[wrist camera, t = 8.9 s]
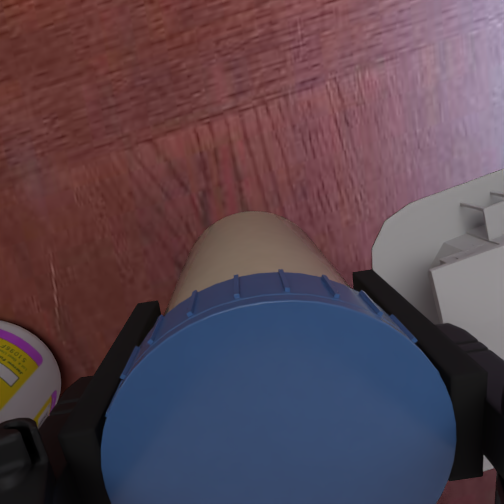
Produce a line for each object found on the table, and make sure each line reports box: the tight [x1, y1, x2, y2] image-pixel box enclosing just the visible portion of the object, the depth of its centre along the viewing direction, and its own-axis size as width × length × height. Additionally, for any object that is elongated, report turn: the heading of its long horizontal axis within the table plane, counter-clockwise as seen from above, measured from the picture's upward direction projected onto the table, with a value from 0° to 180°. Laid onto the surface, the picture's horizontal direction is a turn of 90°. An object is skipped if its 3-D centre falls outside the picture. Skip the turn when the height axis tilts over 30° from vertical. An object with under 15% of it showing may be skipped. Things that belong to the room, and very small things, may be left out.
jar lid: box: [101, 269, 456, 504], centre depth 8 cm, size 8×8×2 cm
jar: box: [164, 211, 350, 316], centre depth 13 cm, size 7×7×10 cm
